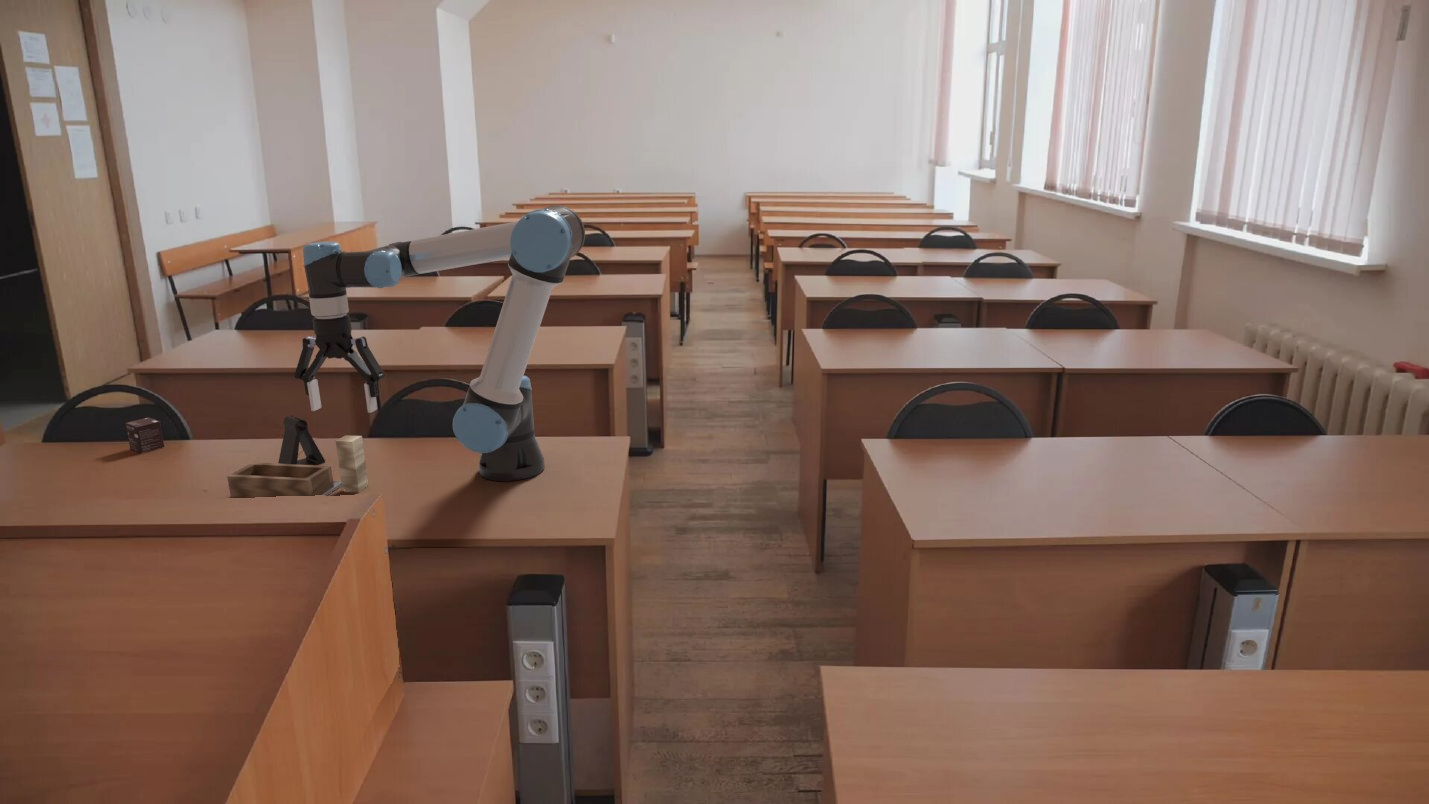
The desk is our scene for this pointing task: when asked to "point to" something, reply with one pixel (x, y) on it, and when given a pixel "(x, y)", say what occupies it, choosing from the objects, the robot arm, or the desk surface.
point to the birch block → (352, 463)
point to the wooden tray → (281, 480)
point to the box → (144, 435)
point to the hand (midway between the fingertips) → (344, 410)
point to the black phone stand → (290, 446)
